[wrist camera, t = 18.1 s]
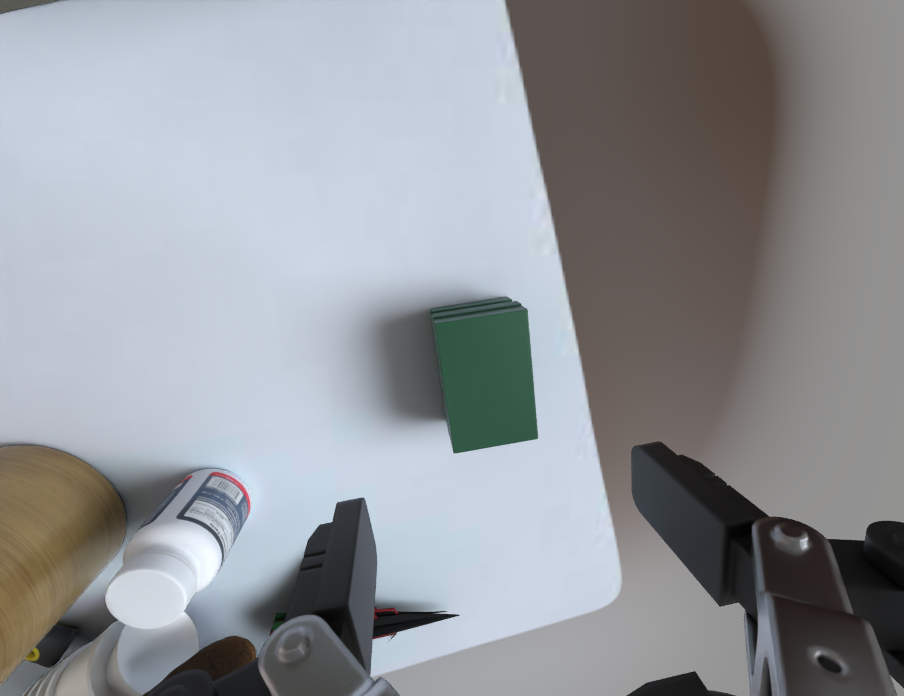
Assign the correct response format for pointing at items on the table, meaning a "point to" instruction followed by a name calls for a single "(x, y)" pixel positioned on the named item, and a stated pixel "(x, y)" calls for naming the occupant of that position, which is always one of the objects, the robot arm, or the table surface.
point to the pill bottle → (179, 549)
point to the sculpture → (218, 658)
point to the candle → (121, 661)
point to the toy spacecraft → (388, 621)
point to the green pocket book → (487, 378)
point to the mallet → (52, 646)
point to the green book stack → (465, 309)
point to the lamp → (49, 542)
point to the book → (19, 4)
